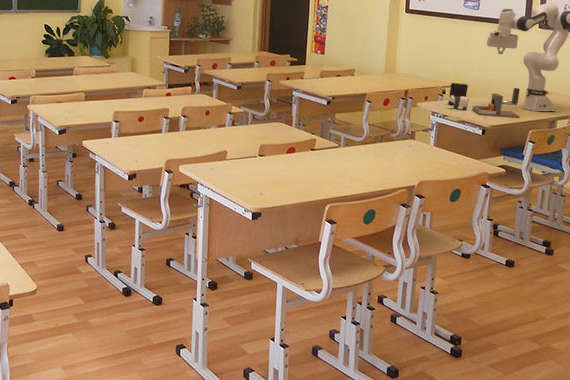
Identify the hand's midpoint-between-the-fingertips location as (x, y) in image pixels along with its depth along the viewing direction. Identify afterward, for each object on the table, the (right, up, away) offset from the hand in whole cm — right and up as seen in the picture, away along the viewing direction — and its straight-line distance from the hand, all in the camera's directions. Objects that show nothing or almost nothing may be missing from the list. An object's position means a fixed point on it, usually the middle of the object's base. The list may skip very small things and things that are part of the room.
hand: (500, 54), depth 554 cm
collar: (-10, -40, -11) cm, 43 cm away
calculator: (-28, -34, +8) cm, 45 cm away
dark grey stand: (-7, -42, -11) cm, 43 cm away
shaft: (+1, -36, -12) cm, 37 cm away
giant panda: (-30, -38, -5) cm, 49 cm away
